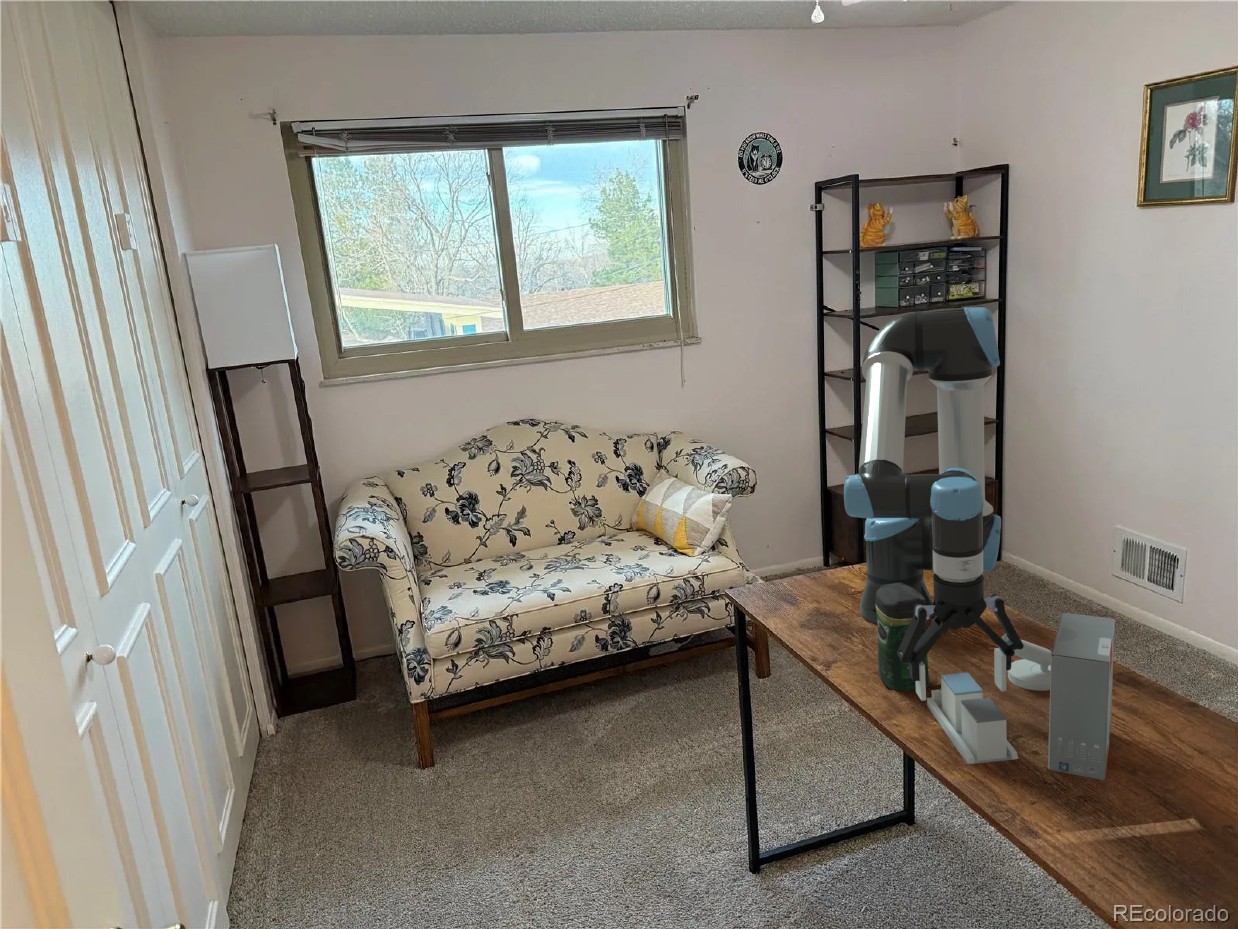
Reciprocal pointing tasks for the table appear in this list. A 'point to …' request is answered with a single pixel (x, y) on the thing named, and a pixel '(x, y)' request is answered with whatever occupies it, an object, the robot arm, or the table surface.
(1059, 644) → the hard drive box
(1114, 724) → the table surface
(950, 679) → the module
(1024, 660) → the wall hook
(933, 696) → the rail
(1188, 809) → the table surface
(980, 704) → the block
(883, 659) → the coffee jar
